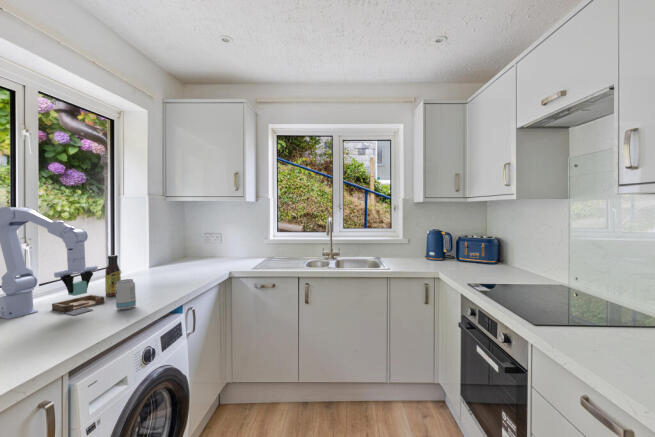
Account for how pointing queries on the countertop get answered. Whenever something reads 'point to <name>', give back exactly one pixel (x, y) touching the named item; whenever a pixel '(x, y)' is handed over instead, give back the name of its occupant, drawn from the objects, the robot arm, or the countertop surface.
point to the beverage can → (125, 294)
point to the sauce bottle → (112, 276)
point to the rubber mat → (78, 311)
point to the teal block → (79, 288)
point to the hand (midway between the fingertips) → (77, 291)
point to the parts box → (77, 303)
